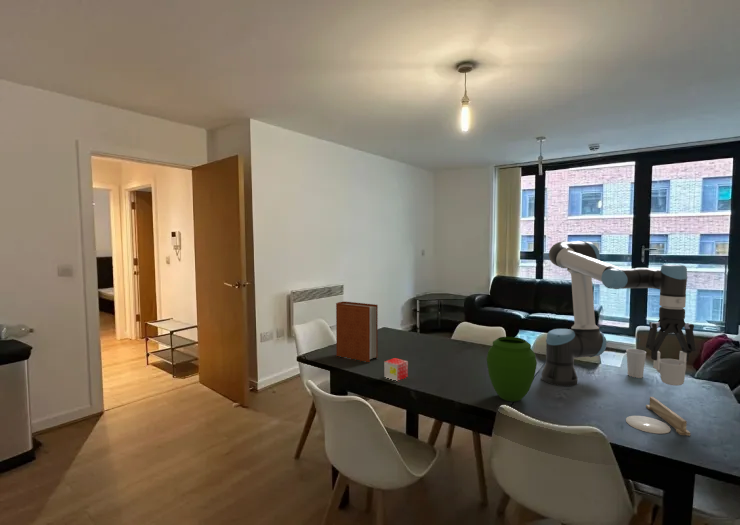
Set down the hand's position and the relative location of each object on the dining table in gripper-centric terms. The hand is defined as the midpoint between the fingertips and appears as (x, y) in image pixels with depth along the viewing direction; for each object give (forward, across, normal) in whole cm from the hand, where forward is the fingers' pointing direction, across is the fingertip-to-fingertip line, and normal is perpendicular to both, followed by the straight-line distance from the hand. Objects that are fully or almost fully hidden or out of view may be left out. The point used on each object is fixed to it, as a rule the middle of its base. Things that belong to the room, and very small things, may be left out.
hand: (669, 369), depth 146 cm
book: (+19, -126, +58) cm, 140 cm away
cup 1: (+19, +12, +47) cm, 52 cm away
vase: (+18, -53, +11) cm, 57 cm away
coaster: (+18, -10, -7) cm, 22 cm away
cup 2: (+5, 0, 0) cm, 5 cm away
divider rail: (+18, -2, -2) cm, 18 cm away
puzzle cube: (+19, -102, +30) cm, 107 cm away
